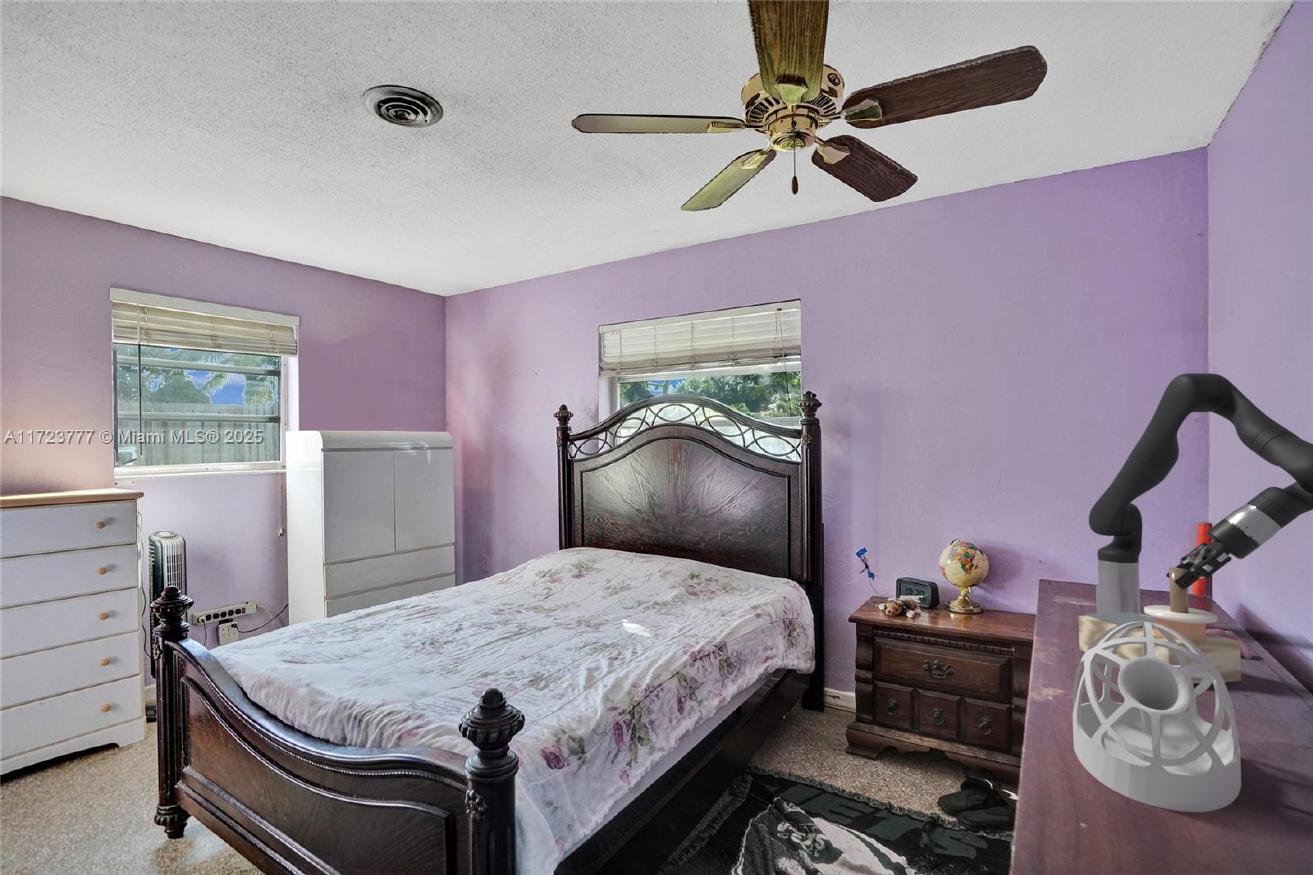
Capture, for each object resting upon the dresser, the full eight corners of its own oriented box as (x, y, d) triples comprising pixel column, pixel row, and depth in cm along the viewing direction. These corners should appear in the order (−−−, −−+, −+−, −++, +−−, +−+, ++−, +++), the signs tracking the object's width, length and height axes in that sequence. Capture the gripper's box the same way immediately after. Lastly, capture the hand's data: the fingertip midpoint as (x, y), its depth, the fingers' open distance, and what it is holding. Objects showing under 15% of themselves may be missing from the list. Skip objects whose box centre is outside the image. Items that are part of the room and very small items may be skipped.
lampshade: (1075, 722, 111) (1229, 752, 100) (1067, 785, 90) (1262, 833, 78) (1073, 603, 112) (1225, 619, 101) (1063, 638, 90) (1256, 663, 79)
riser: (1079, 649, 154) (1078, 615, 154) (1141, 647, 155) (1140, 613, 155) (1169, 684, 130) (1168, 644, 130) (1241, 681, 131) (1240, 641, 132)
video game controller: (1241, 662, 149) (1229, 631, 152) (1255, 658, 145) (1243, 626, 148) (1195, 661, 150) (1184, 630, 153) (1208, 657, 146) (1197, 626, 149)
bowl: (1144, 630, 140) (1143, 612, 140) (1179, 629, 141) (1179, 611, 141) (1179, 641, 132) (1179, 622, 132) (1217, 640, 132) (1216, 620, 133)
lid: (1129, 610, 142) (1128, 564, 142) (1179, 609, 143) (1178, 563, 143) (1179, 624, 130) (1177, 574, 130) (1233, 622, 131) (1231, 573, 131)
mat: (1086, 615, 154) (1086, 613, 154) (1132, 614, 155) (1132, 612, 155) (1128, 628, 142) (1128, 626, 142) (1177, 626, 143) (1177, 625, 143)
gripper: (1216, 514, 139) (1151, 564, 145) (1236, 520, 127) (1164, 574, 132) (1249, 541, 137) (1182, 590, 142) (1273, 549, 124) (1198, 603, 129)
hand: (1174, 582), depth 137 cm, fingers open, 8 cm apart
